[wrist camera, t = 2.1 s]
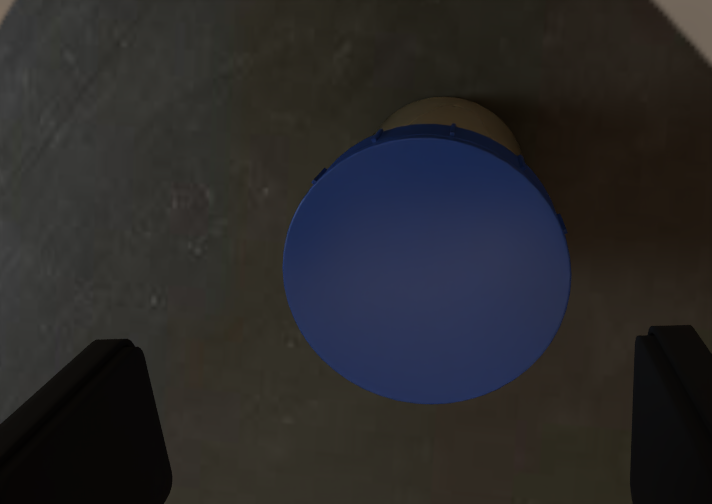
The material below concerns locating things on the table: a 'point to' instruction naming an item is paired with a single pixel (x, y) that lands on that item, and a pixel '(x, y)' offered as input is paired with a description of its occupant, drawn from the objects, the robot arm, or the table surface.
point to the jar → (454, 119)
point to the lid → (427, 265)
